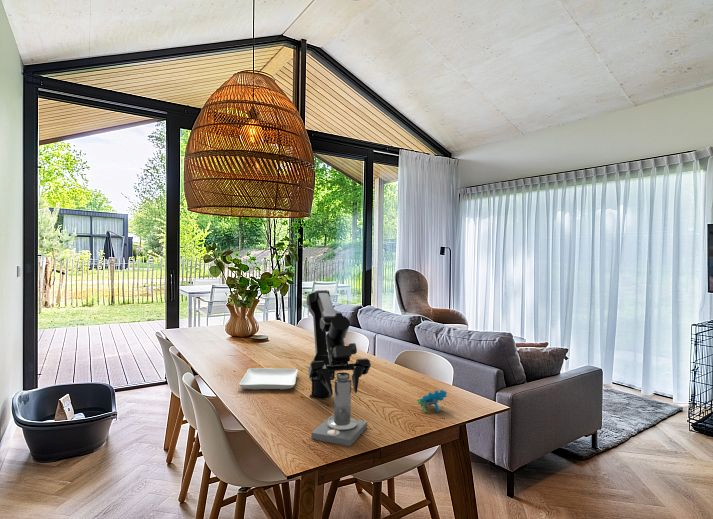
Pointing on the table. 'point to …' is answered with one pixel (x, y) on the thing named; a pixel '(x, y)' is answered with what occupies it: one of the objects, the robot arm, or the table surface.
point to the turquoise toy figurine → (432, 399)
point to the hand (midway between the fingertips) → (344, 393)
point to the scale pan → (342, 427)
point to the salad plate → (269, 378)
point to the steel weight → (342, 399)
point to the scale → (338, 433)
